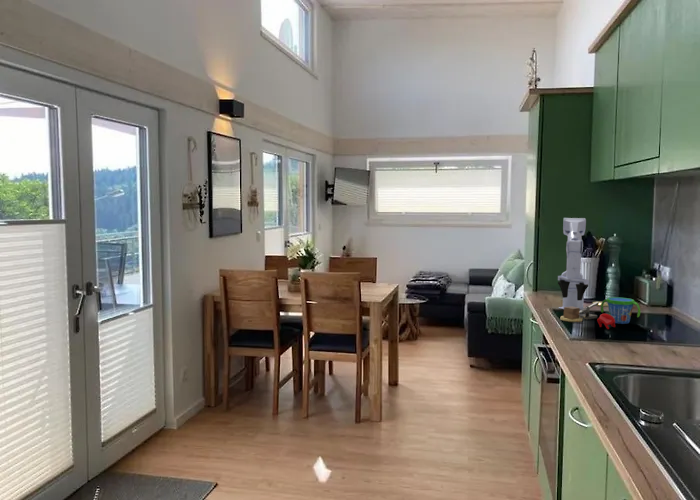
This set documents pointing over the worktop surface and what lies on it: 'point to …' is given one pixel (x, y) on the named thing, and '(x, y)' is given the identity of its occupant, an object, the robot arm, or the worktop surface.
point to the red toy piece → (606, 320)
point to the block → (571, 312)
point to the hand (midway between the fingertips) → (572, 298)
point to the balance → (586, 315)
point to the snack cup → (620, 309)
